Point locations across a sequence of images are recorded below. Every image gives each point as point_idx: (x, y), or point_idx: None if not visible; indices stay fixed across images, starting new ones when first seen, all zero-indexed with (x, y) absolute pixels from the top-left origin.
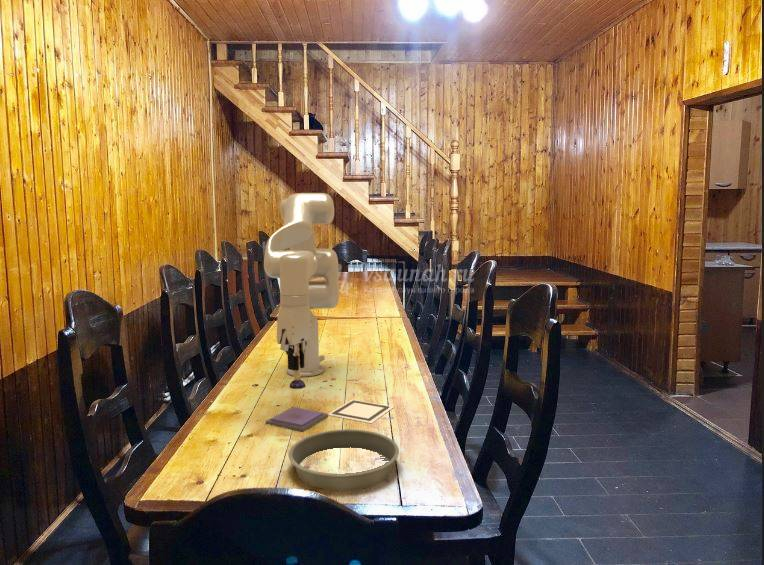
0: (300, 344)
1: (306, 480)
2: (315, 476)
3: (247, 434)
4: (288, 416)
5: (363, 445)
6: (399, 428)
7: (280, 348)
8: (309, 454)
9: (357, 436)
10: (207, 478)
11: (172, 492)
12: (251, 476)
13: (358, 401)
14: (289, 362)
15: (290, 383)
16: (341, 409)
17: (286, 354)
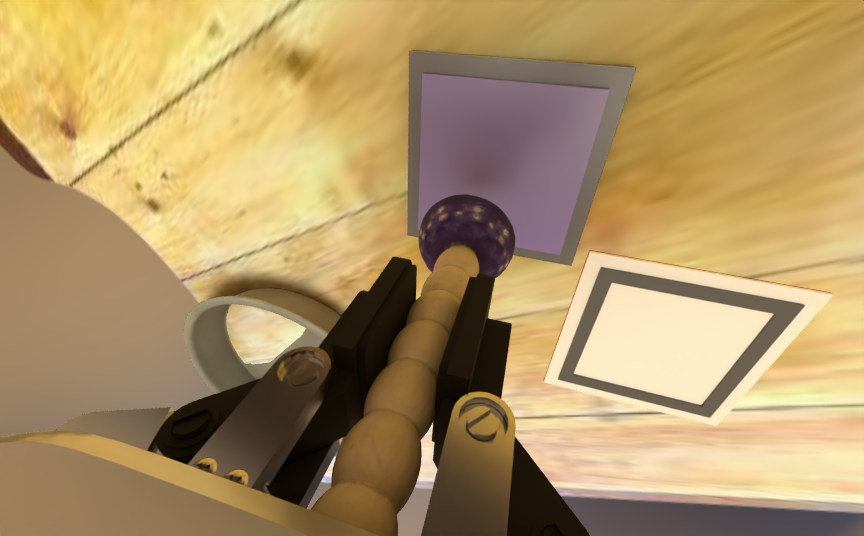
0: (519, 534)
1: (218, 325)
2: (206, 352)
3: (297, 46)
4: (471, 141)
5: None
6: (530, 430)
7: (61, 429)
8: (299, 297)
9: None
10: (85, 135)
11: (8, 102)
12: (164, 222)
13: (781, 327)
14: (347, 317)
15: (435, 217)
16: (654, 289)
17: (288, 353)
